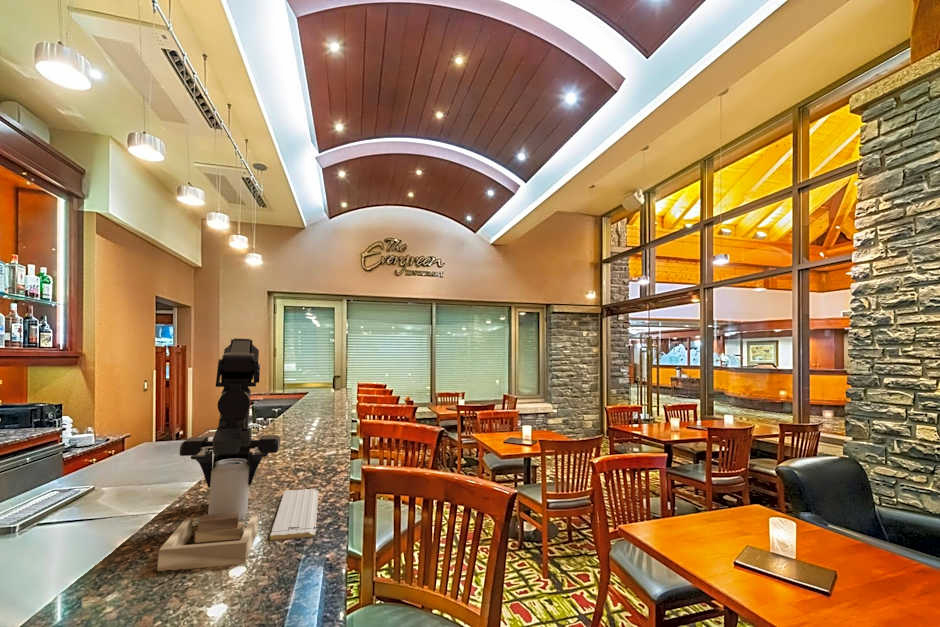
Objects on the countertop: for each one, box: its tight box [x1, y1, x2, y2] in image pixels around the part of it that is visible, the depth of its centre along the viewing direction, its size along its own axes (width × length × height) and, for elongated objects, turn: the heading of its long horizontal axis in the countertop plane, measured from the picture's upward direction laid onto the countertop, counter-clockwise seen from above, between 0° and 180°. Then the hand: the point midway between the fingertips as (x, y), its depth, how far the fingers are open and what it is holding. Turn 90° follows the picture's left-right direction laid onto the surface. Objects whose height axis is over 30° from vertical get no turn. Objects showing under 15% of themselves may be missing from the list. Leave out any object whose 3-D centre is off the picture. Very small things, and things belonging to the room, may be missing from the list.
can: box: [207, 459, 250, 520], centre depth 98 cm, size 8×8×12 cm
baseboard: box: [269, 488, 322, 541], centre depth 106 cm, size 30×3×10 cm
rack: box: [156, 512, 260, 572], centre depth 86 cm, size 15×13×4 cm
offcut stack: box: [194, 512, 245, 544], centre depth 91 cm, size 4×8×4 cm, turn 107°
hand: (229, 485), depth 99 cm, fingers closed on can, 7 cm apart
